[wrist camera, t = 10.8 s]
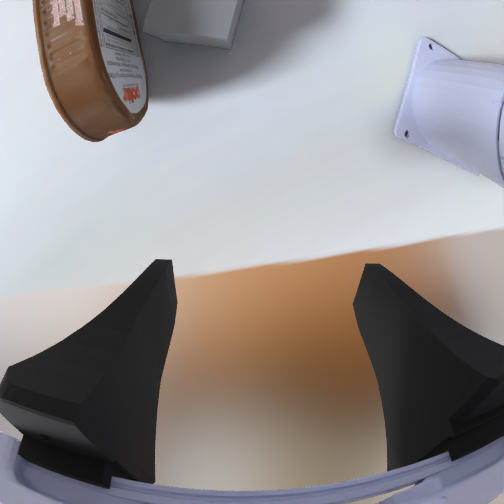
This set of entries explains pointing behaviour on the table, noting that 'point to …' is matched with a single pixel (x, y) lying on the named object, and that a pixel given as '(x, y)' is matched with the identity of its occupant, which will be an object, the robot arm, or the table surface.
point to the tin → (92, 64)
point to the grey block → (194, 21)
